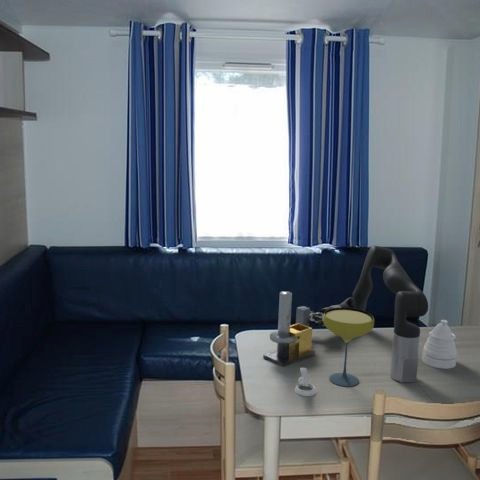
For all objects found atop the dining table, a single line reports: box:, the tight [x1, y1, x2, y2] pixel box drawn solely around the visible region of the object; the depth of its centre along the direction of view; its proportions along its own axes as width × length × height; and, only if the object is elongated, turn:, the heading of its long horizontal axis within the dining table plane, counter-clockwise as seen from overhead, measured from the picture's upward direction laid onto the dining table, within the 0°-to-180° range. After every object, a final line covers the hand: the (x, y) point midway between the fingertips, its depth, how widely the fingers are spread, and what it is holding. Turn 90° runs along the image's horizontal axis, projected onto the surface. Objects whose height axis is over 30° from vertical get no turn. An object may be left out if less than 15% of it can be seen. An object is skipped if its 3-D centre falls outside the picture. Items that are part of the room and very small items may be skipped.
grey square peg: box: [295, 305, 311, 327], centre depth 234 cm, size 4×4×16 cm
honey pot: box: [421, 319, 458, 369], centre depth 219 cm, size 13×13×18 cm
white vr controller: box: [294, 367, 317, 397], centre depth 190 cm, size 8×12×7 cm
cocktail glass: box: [323, 308, 375, 388], centre depth 199 cm, size 18×18×25 cm
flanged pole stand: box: [262, 291, 316, 368], centre depth 219 cm, size 19×11×27 cm, turn 132°
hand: (308, 322), depth 236 cm, fingers open, 8 cm apart
